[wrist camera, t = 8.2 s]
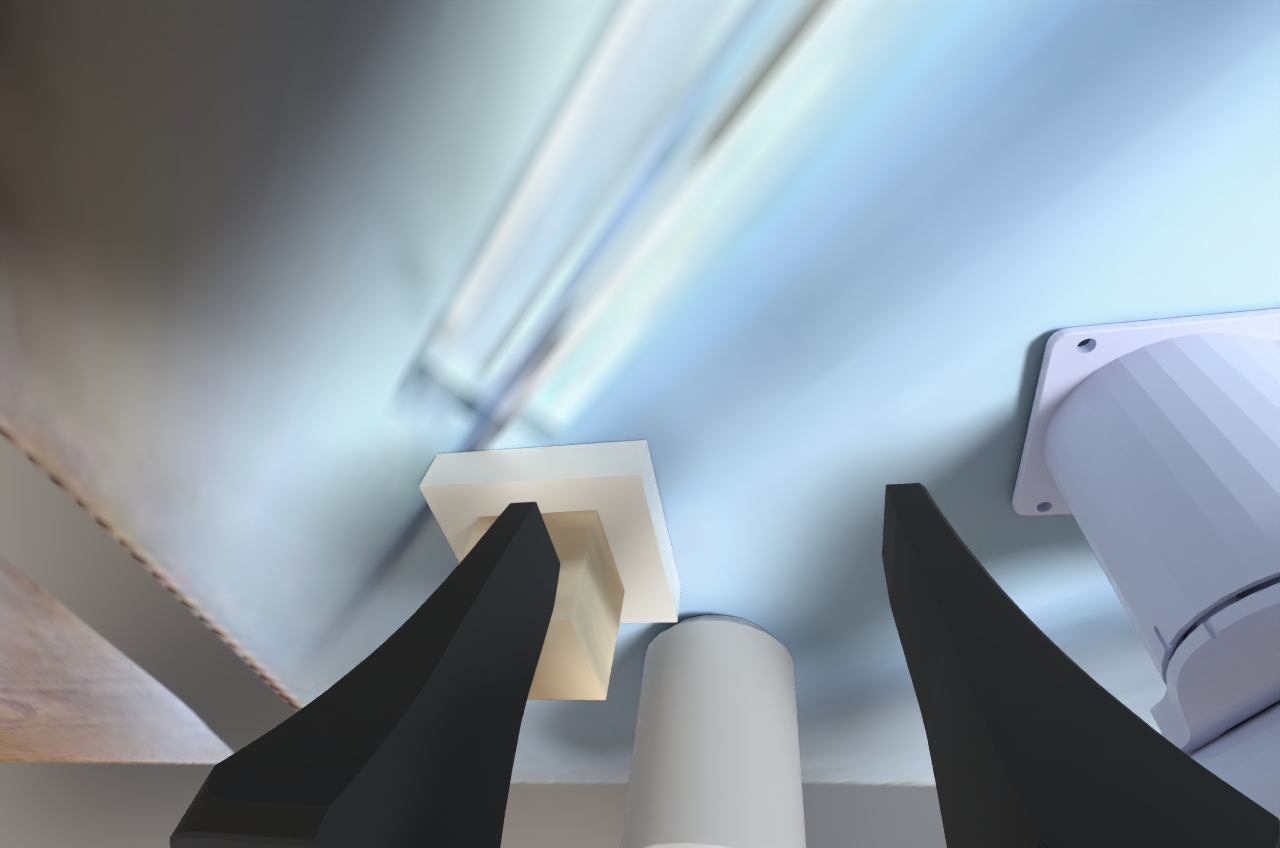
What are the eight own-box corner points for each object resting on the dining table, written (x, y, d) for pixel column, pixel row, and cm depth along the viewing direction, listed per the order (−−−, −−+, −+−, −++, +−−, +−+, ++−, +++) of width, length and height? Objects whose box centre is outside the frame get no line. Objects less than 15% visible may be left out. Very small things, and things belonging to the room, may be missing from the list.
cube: (596, 509, 25) (570, 619, 21) (625, 591, 28) (606, 700, 24) (479, 516, 26) (433, 622, 22) (518, 593, 29) (483, 698, 25)
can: (697, 699, 37) (681, 967, 27) (618, 628, 33) (570, 906, 24) (819, 669, 33) (848, 963, 24) (745, 587, 30) (746, 891, 21)
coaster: (646, 439, 25) (640, 474, 24) (680, 586, 31) (677, 622, 29) (437, 453, 27) (418, 486, 26) (504, 589, 32) (491, 623, 31)
